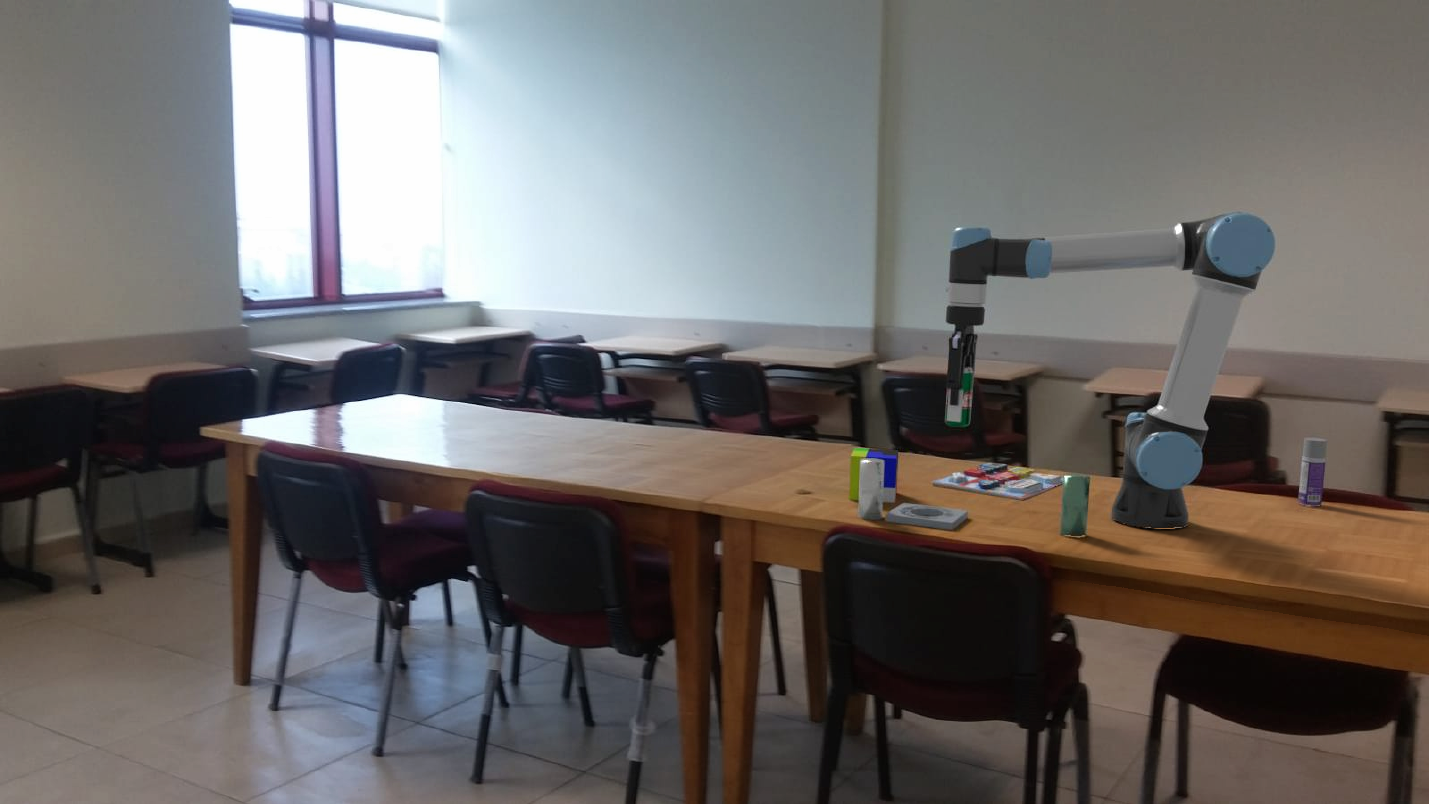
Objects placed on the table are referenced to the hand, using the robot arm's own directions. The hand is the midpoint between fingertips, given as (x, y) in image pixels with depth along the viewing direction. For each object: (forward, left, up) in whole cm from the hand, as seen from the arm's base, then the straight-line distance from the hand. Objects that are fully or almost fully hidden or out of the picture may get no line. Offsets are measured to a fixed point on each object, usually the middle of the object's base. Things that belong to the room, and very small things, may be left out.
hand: (957, 419), depth 232 cm
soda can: (0, 0, -1) cm, 1 cm away
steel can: (+16, +4, -22) cm, 28 cm away
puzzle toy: (+22, -15, -22) cm, 35 cm away
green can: (-24, -3, -22) cm, 32 cm away
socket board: (+5, 0, -22) cm, 22 cm away
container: (-66, -59, -22) cm, 91 cm away
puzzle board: (0, -46, -23) cm, 51 cm away
